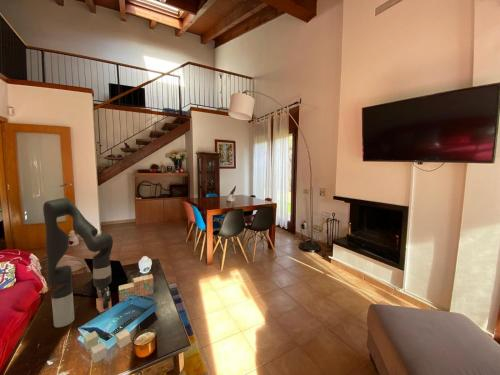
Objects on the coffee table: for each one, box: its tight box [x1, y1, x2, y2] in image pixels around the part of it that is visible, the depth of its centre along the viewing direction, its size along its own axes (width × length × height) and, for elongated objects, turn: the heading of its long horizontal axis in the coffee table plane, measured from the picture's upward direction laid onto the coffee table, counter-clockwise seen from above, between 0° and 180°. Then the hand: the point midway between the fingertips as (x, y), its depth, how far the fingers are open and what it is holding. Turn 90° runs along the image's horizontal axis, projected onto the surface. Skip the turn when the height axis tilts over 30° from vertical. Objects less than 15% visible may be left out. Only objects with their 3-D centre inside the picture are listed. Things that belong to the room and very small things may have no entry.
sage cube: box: [83, 330, 100, 351], centre depth 113 cm, size 5×5×5 cm
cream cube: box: [115, 328, 131, 349], centre depth 114 cm, size 5×5×5 cm
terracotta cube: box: [95, 297, 112, 314], centre depth 111 cm, size 5×5×5 cm
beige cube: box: [90, 341, 108, 364], centre depth 106 cm, size 5×5×5 cm
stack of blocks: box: [118, 273, 155, 303], centre depth 154 cm, size 21×6×12 cm, turn 123°
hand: (104, 306), depth 112 cm, fingers closed on terracotta cube, 5 cm apart
